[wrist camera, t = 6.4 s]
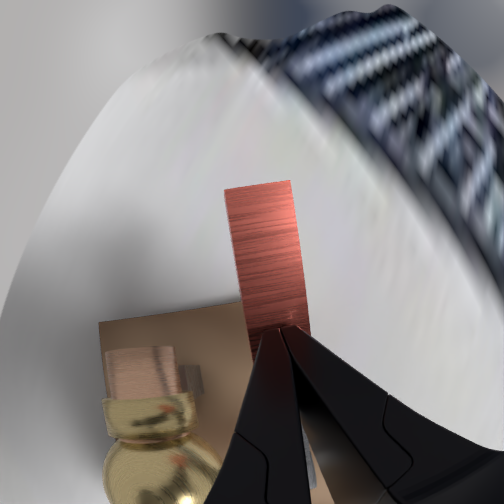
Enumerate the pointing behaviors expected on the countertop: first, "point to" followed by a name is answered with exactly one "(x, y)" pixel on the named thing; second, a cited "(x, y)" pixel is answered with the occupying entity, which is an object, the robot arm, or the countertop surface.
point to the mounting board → (203, 365)
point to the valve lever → (268, 265)
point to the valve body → (155, 430)
